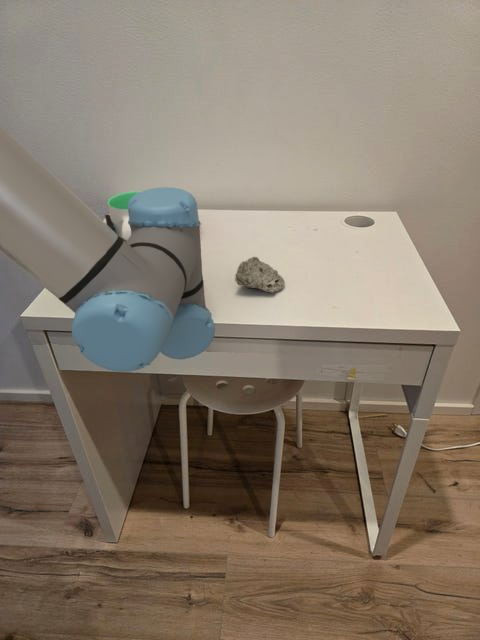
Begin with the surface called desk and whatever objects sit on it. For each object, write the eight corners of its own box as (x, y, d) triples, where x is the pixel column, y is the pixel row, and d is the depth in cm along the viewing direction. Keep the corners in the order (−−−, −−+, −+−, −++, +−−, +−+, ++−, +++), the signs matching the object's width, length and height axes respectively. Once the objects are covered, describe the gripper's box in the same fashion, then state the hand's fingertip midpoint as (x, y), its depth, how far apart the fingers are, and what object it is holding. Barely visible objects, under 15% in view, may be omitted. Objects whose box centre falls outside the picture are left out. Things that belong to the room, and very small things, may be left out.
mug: (160, 274, 75) (152, 217, 69) (112, 277, 75) (100, 220, 69) (163, 242, 85) (156, 190, 79) (121, 245, 84) (111, 192, 78)
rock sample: (282, 287, 76) (256, 245, 77) (249, 309, 80) (224, 269, 80) (298, 282, 86) (274, 245, 87) (267, 303, 89) (245, 267, 90)
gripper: (90, 314, 62) (78, 246, 79) (228, 285, 68) (189, 227, 85) (78, 268, 58) (68, 206, 75) (227, 241, 64) (186, 190, 81)
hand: (132, 218), depth 80 cm, fingers closed on mug, 8 cm apart
